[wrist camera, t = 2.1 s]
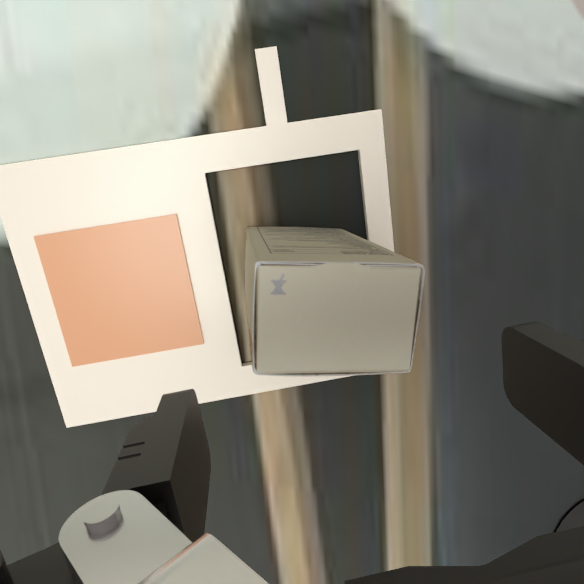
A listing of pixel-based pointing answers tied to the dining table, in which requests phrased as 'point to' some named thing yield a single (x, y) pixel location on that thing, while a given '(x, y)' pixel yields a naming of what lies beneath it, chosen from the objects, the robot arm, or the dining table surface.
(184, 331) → the window card
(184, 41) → the dining table surface
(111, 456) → the dining table surface
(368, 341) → the skincare box
